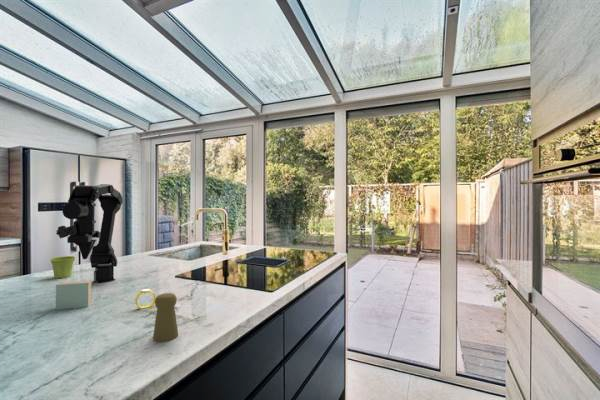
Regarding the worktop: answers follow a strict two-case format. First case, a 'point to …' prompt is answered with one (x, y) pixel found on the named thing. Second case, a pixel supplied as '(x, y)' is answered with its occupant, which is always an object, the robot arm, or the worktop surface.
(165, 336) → the cork
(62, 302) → the tile
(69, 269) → the plant pot
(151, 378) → the worktop surface
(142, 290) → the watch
